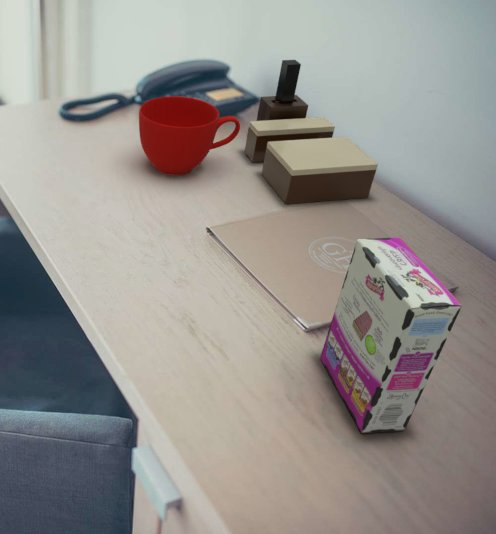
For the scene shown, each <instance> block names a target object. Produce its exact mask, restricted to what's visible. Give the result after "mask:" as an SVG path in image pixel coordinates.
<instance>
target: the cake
mask: <svg viewBox="0 0 496 534" xmlns="http://www.w3.org/2000/svg"><path fill="white" fill-rule="evenodd" d="M378 166H379V163H378V162H377V161H376V160H375V159H373V158H372V157H371V156H369V155H368V154H367V153H366V151H364V150H363V149H361V147H360V146H359V145H358V144H356V143H355V142H353V141H352V139H350V138H349V136H336V137H335V136H334V137H332V138H319V139H303V140H287V141H271V142H268V143H267V148H266V153H265V159H264V162H263V164H262V169H261V175H262V177H263V178H264V179H265V180H266V181H267V183H268V184H269V185H270V186H271V188H272V189H273V190H274V192H275V193H276V194H277V195H278V196H279V198H280V200H282V202H283V203H284V204H285V205H289V204H302V203H315V202H325V201H326V202H328V201H340V200H353V199H365V198H366V199H367V198H369V195H370V192H371V188H372V185H373V182H374V179H375V176H376V172H377V170H378Z"/></svg>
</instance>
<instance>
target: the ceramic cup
mask: <svg viewBox="0 0 496 534" xmlns="http://www.w3.org/2000/svg"><path fill="white" fill-rule="evenodd" d="M139 107H140V108H139V109H138V110H139V111H138V129H139V141H140V145H141V148H142V151H143V152H144V154H145V156H146V158H147V160H148V161H149V162H150V164H151V165H153V167H154V168H155V170H156V171H158V172H160V173H161V174H164V175H168V176H183V175H187V174H189V173H191V172H192V171H193V170H194V169H195V168H196V167H198V166H199V165H200V164H202V162H203V161H204V160H205V158H206V157H207V155H208V153H209V152H210V151H211V150H214V149H217V148H220V147H223V146H225V145H227V144H230V143H231V142H232V141H234V139H235V138H237V136H238V134H239V133H240V130H241V123H240V120H239V119H238V118H237V117H235V116H232V115H227V116H226V115H225V116H222V117H220V112H219V110H218V108H217V107H216V106H214V105H213V104H211V103H209V102H207V101H205V100H202V99H198V98H193V97H189V96H180V95H179V96H177V95H169V96H160V97H155V98H151V99H149V100H146V101H145V102H143V103H142V104H141V105H140V106H139ZM230 122H231V123H234V124H235V127H234V130H233V131H232V132H231V133H230V135H228V136H226V137H225V138H223V139H220V140H219V141H215V137H216V134H217V132H218V130H219V128H220V127H221V126H222V125H224V124H225V123H230ZM214 141H215V142H214Z"/></svg>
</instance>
